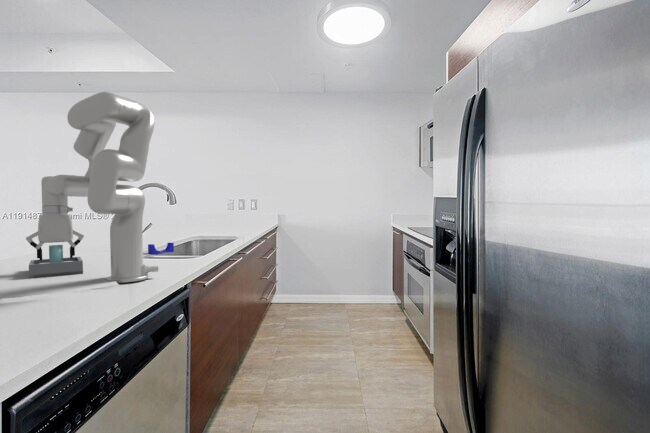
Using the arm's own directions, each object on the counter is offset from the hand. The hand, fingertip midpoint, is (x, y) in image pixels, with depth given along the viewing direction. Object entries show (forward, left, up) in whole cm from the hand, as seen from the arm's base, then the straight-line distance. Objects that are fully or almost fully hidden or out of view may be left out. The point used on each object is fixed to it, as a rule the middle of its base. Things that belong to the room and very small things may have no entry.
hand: (56, 258), depth 134 cm
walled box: (0, 0, -5) cm, 5 cm away
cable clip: (-43, -33, -5) cm, 54 cm away
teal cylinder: (0, 0, -4) cm, 4 cm away
